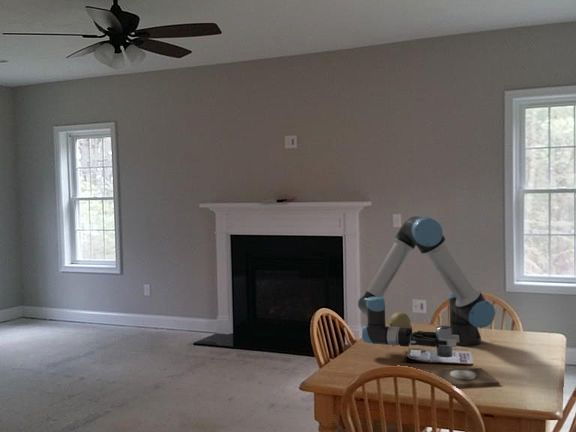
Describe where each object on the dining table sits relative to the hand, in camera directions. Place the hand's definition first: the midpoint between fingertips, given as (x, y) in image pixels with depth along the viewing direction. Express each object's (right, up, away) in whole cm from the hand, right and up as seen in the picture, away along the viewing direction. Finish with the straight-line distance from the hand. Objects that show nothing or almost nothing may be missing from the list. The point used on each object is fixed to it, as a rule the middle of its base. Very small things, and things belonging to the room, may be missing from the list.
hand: (457, 341), depth 217 cm
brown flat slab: (-3, -10, -16) cm, 19 cm away
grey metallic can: (-4, -6, +2) cm, 8 cm away
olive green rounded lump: (-12, -8, +51) cm, 53 cm away
